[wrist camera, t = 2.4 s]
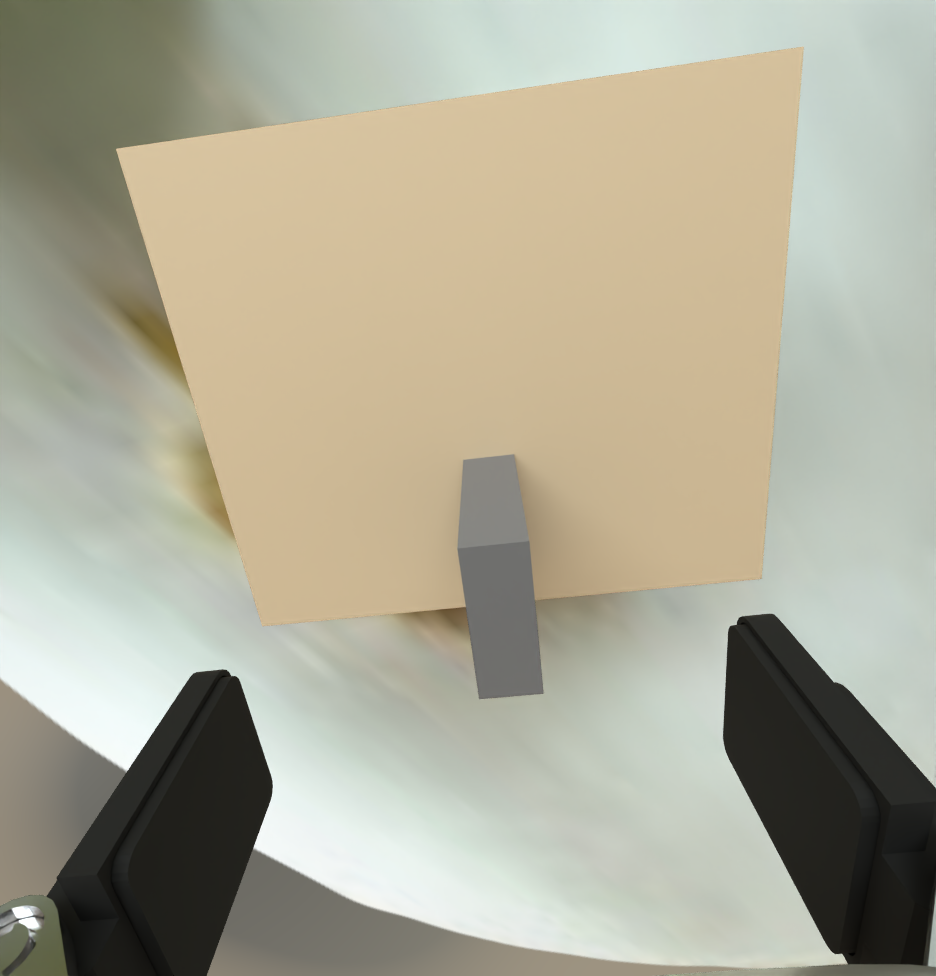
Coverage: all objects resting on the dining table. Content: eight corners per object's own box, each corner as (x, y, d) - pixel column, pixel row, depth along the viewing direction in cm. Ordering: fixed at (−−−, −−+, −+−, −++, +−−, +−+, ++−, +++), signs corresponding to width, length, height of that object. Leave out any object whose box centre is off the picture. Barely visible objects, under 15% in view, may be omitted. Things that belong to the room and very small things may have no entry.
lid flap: (790, 54, 14) (1007, -81, 8) (753, 569, 19) (869, 703, 13) (129, 152, 15) (-86, 92, 9) (268, 615, 20) (186, 759, 14)
